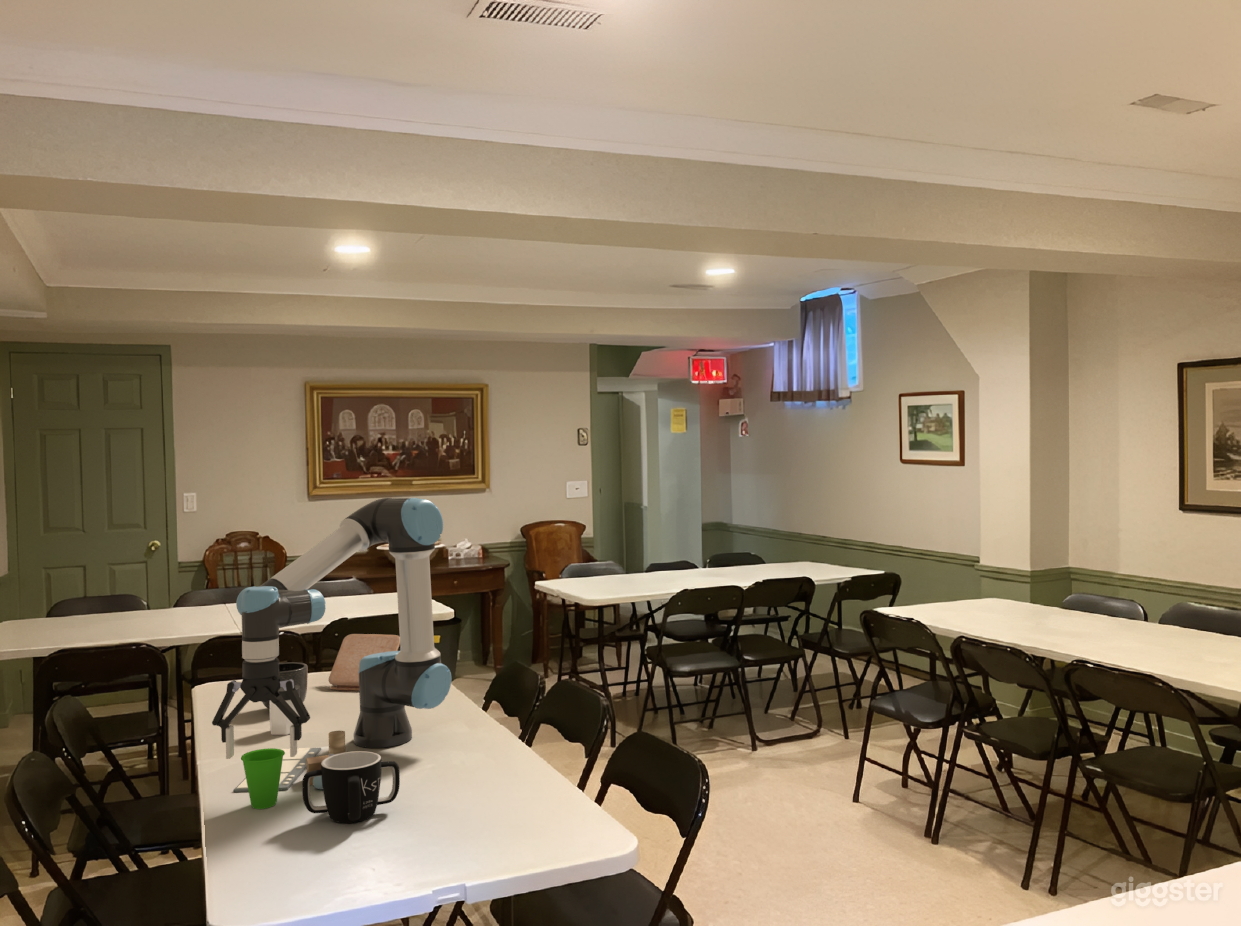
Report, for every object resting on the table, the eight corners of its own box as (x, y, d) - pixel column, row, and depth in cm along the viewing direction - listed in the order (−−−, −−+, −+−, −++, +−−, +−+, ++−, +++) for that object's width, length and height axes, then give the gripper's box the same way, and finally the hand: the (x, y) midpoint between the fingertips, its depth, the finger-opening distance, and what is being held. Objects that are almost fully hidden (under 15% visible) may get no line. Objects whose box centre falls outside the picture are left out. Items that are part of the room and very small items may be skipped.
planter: (318, 707, 292) (317, 664, 292) (280, 718, 280) (279, 674, 280) (288, 701, 299) (287, 660, 299) (249, 712, 288) (248, 669, 287)
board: (321, 749, 249) (321, 746, 249) (287, 789, 219) (287, 786, 219) (273, 751, 248) (273, 748, 248) (233, 791, 218) (233, 788, 218)
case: (325, 691, 313) (325, 642, 313) (353, 676, 334) (353, 630, 334) (385, 693, 310) (384, 643, 309) (410, 678, 330) (409, 631, 330)
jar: (268, 728, 270) (268, 685, 270) (299, 725, 273) (298, 682, 273) (270, 737, 261) (269, 693, 261) (302, 733, 265) (301, 689, 264)
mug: (349, 837, 191) (348, 776, 191) (295, 822, 199) (294, 764, 199) (408, 810, 205) (407, 754, 205) (355, 797, 213) (354, 743, 213)
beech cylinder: (347, 753, 245) (346, 730, 245) (343, 758, 241) (342, 734, 241) (331, 754, 245) (330, 730, 245) (327, 759, 241) (326, 735, 241)
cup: (244, 815, 204) (243, 763, 204) (239, 802, 212) (238, 752, 212) (288, 807, 208) (287, 756, 208) (282, 794, 216) (281, 745, 216)
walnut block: (328, 775, 229) (328, 754, 229) (331, 782, 224) (330, 760, 224) (306, 779, 227) (306, 757, 227) (308, 785, 222) (308, 763, 222)
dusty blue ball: (331, 785, 221) (330, 770, 221) (327, 791, 218) (326, 775, 218) (315, 786, 221) (314, 770, 221) (311, 791, 218) (310, 775, 217)
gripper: (323, 653, 214) (324, 749, 214) (208, 656, 213) (209, 752, 213) (314, 660, 207) (315, 759, 207) (195, 663, 205) (196, 762, 205)
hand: (262, 756), depth 210 cm, fingers open, 13 cm apart
